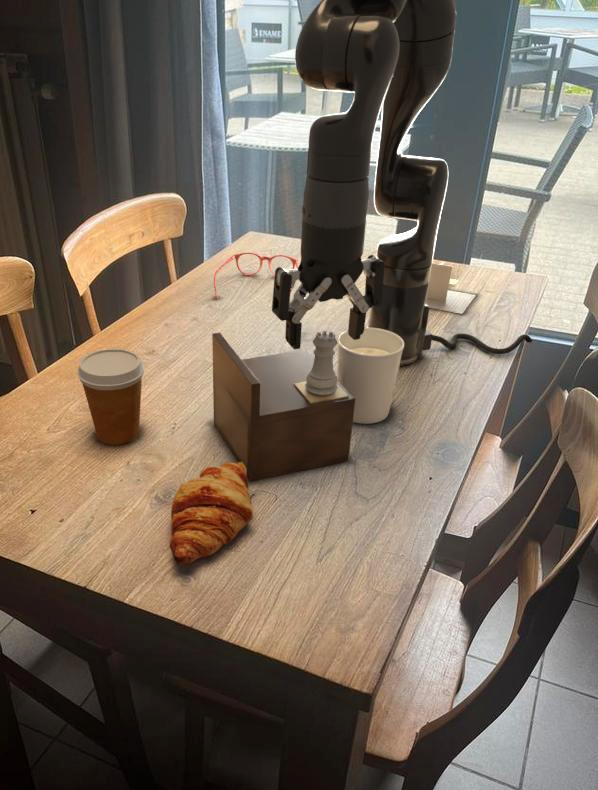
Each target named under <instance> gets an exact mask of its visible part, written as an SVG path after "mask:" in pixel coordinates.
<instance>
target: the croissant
mask: <svg viewBox="0 0 598 790" xmlns="http://www.w3.org/2000/svg"><path fill="white" fill-rule="evenodd" d="M246 470H247V469H246V467H245V466H244V464H243V463H242V462H239V463H238V462H237V463H236V462H224V463H222V464H221V465H220V466H218V467H216V466H208V467H205V468H204V469H203V470H201V471H200V473H199V476H198V477H197V478H196V477H195V478H193V479H189V480H188V481H186V482H183V483H180V485H179V487H178V489H177V490H176V492H175V494H174V496H173V499H172V503H171V511H170V517H171V518H170V519H171V524H170V526H171V527H170V529H171V531H170V532H171V533H170V534H171V537H170V541H169V548H170V551H171V554H172V558H173V560H174V561H175V562H176V563H177V564H181V565H183V564H191V563H192V562H194V561H196V560H198V559H200V558H206V557H209V556H212V555H213V554H215V553H216V552H217V551H219V550H220V548H221V547H223V546H224V545H227V544H229V543H230V542H231V541H232V540H233V539H234V538H235V537H236V536H237V534H238V533H239V531H241V530H242V529H244V527H245V526H247V524H249V522H250V521H251V519H252V518H253V515H254V511H253V506H252V500H251V496H250V495H251V494H250V493H249V490H248V489H249V482H248V481H249V480H248V477H247V476H246Z"/></svg>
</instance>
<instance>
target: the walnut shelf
mask: <svg viewBox="0 0 598 790" xmlns="http://www.w3.org/2000/svg"><path fill="white" fill-rule="evenodd" d="M211 337H212V338H211V339H212V387H213V388H212V393H213V394H212V395H213V396H212V397H213V425H214V426H215V428H216V430H217V432H218V433H219V434H220V436H221V438H222V440H223V441H224V442H225V444H226V445H227V447H228V449H229V450H230V452H231V453H232V456H233V457H234V458H235V460H236V461H237V463H239V462H242V463H243V464H244V466H245V467H246V469H247V470H246V477H247V480H248V481H249V482H254V481H258V480H264V479H268V478H273V477H277V476H283V475H287V474H292V473H296V472H301V471H307V470H312V469H316V468H321V467H325V466H331V465H335V464H341V463H346V462H348V461H349V457H350V449H351V439H352V430H353V424H354V422H353V415H354V406H355V398H354V397H353V396H352V395H351V394H350V393H349V392H348V391H347V390H346V389H345V388H344V387H343V386H342V385H341V384H340V383H339V382H337V387H338V388H337V390H336V391H335V392H334V393H333V394H331V395H328V396H317V395H313V394H311V393H310V392H309V391H308V390H307V389H306V388H305V384H306V377H307V376H308V374H309V373H310V371H311V370H312V367H313V363H314V359H315V355H313V353H311V352H310V350H308V349H300V350H299V349H298V350H294V351H288V352H282V353H281V352H280V353H275V354H268V355H261V356H256V357H250V358H244V359H242V358H241V357H240V355H239V354H238V353H237V352H236V350H235V349H234V348H233V347H232V346H231V344H230V343H229V341H228V340H227V339H226V338H225V336H224V335H223V334H222V333H221V332H214V333H212V334H211Z"/></svg>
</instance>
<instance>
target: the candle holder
mask: <svg viewBox="0 0 598 790" xmlns="http://www.w3.org/2000/svg"><path fill="white" fill-rule="evenodd" d="M403 349H404V341H403V339H402V338H401V337H400V336H398V335H397V334H395V333H393V332H390V331H387V330H384V329H379V328H369V327H368V326H367V327H366V326H364V332H363V334H362V335H360V339H357V340H353V339H352V338H351V337H350V336H349V334H348V329H347V330H345V331H343V332H342V333H340V334H339V336H338V337H337V365H336V376H337V381H338V382H339V383H340V384H341V385H342V386H343V387H344V388H345V389H346V390H347V391H348V392H349V393H350V394H351V395H352V396H353V397H354V398H355V406H354V415H353V423H356V424H361V425H362V424H363V425H369V424H370V425H371V424H376V423H380V422H382V421H384V420H385V419H387V417H388V416H389V415H390V411H391V407H392V404H393V403H392V402H393V398H394V394H395V388H396V383H397V380H398V374H399V369H400V367H401V366H400V361H401V356H402V352H403Z"/></svg>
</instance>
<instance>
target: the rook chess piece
mask: <svg viewBox="0 0 598 790" xmlns="http://www.w3.org/2000/svg"><path fill="white" fill-rule="evenodd" d="M312 344H313V346H314V347H315V349H314V350H313V351H312V352H313V354H314V357H315V359H314V363H313V367H312V370H311V371H310V373H309V374H308V376H307V377H306V384H305V388H306V389H307V390H308V391H309V392H310V393H311V394H313V395H317V396H328V395H331V394H333V393H334V392H335V391H336V390H337V388H338V387H337V382H338V381H337V374H336V372H335V371H334V355H335V354H336V352H335V350H334V348H335V347H336V346H338V339H336V334H334V332H332V331H329V332H328V334H327V330H322V332H321V331H318V332H316V333H315V337H314V338H313V339H312Z"/></svg>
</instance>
